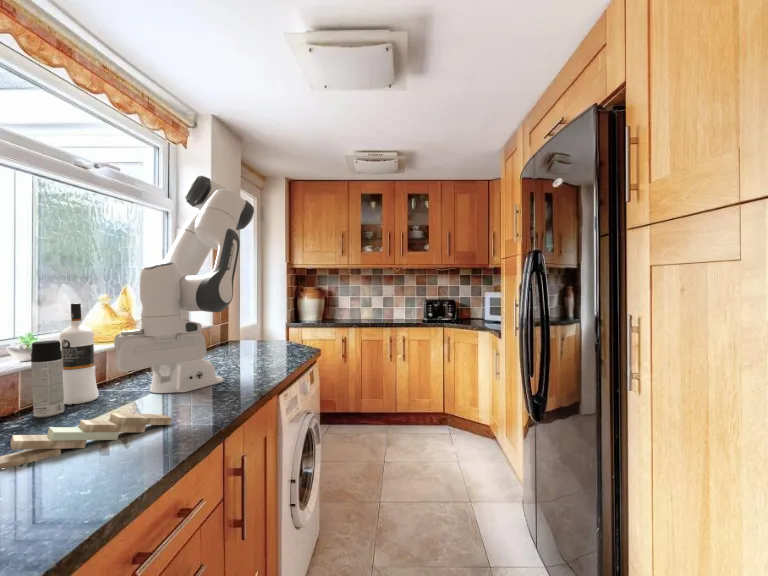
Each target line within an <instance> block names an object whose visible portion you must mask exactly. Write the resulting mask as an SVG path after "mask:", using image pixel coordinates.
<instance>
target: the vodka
mask: <svg viewBox="0 0 768 576" xmlns="http://www.w3.org/2000/svg"><path fill="white" fill-rule="evenodd" d="M70 317H71V319H70V321H71V322H70V324H71V325H69V326H68V327H66V328H65V329H64V330H62V331H61V332H60V335H59V339H60V340H59V342H60V345H61V346H60V347H61V351H62V369H63V390H64V405H66V404H67V406H69V405H71V406H72V404H75V405H79V404H80V405H81V404H87V403H90V402H93V401H95V400H96V399H98V398H99V394H100V393H99V389H98V385H97V380H96V379H97V378H96V364H95V347H94V344H95V339H94V338H95V337H94V336H95V335H94V334H95V332H94V331H93V329H92V328H90V327H88V326H87V325H84V324H83V322H82V304H81V303H80V302H72V303H70ZM86 402H87V403H86Z"/></svg>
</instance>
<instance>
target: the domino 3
mask: <svg viewBox="0 0 768 576" xmlns="http://www.w3.org/2000/svg"><path fill="white" fill-rule="evenodd" d="M46 435H47V436H48V437H49V438H50V439H51V440H87V441H110V440H111V441H115V440H116V441H118V438H119V435H120V432H83V431H82V430H81V429H80V428H79V426H78V427H77V426H74V427H73V426H72V427H71V426H70V427H67V426H63V427H62V426H56V427H55V426H49V427H48V431H47V434H46Z"/></svg>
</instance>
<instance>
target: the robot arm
mask: <svg viewBox="0 0 768 576" xmlns="http://www.w3.org/2000/svg"><path fill="white" fill-rule="evenodd" d="M184 199H185V201H186V202H187V203H188V205H189V206H191V207H193V208H194V207H195V208H196V209H195V210H194V211H193V212H192V214H190V216H189V217H188V218H187V220H186V221H185V223H184V224H183V226H182V228H181V229H180V231H179V233H178V235H177V237H176V238H175V241H174V242H173V244H172V245H171V247H170V248H169V251H168V252H167V254H166V255H165V257H164V258H163V259H162V261H161V262H154V263H149V264H145V265H144V266H143V267H142V269H141V272H140V276H139V299H140V302H141V305H142V306H141V307H142V309H141V310H142V311H141V313H140V324H141V325H140V326H141V329H133V330H123V331H121V332H120V333H118V334H116V335H115V337H114V340H113V344H114V349H115V350H116V352H115V363H114V364H115V368H116V369H117V370H118V371H120V372H129V371H136V370H142V369H147V368H149V369H150V368H151V371H152V379H151V385H150V388H149V392H150V393H154V394H170V393H187V392H191V391H194V390H198V389H201V388H205V387H210V386H213V385H217V384H221V383H223V382H224V378H223V377H222V376H219V375H217V373H216V369H215V366H214V364H213V363H211V362H210V361H208V360H207V359H205V357H206V356H207V346H206V338H205V336H204V334H203V333H202V332H201V331H202V328H203V327H202V326H203V325H202V323H200V322H195V321H192V320H191V321H190V314H189V312H206V313H207V312H208V313H221V312H223V311H225V310H226V309H227V308H228V307H229V306H230V304H231V303H232V300H233V297H234V280H235V274H236V269H237V265H238V264H237V263H238V258H239V254H240V253H239V252H240V245H241V244H240V243H241V242H240V237H239V235H238V233H237V232H236V231H239V230H244V229H245V228H246V227H247V226H249V225H250V223H251V222H252V220H253V218H254V213H255V209H254V206H253V205H252V203H251V202H249V201H248V200H247V199H246V200H245V198H243V197H242V196H240V195H239V194H237V193H236V192H235V191H233V190H231V189H230V188H227V187H226V186H224V185H221V184H219V183H217V182H215V181H214V180H211V178H209V177H206V176H204V175H197V176H195V177H194V178H192V179H191V180H190V181H189V182H188V183H187V184H186V187H185V190H184ZM211 250H215V251H217V253H216V258H215V261H214V266H213V269H212V270H211V271H210V272H208V273H205V274H198V273H200V270H201V268H202V267H203V265H204V263H205V261H206V259H207V257H208V255H209V254H210V253H211Z"/></svg>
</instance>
